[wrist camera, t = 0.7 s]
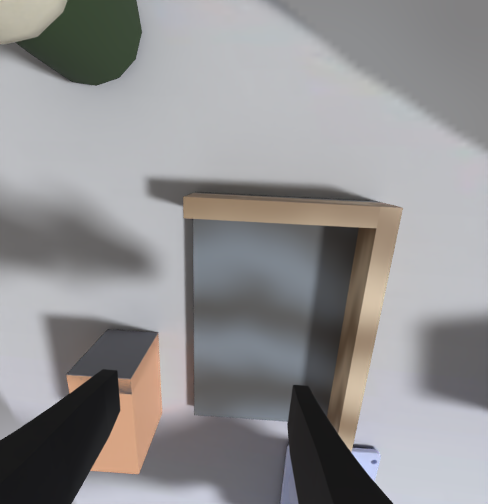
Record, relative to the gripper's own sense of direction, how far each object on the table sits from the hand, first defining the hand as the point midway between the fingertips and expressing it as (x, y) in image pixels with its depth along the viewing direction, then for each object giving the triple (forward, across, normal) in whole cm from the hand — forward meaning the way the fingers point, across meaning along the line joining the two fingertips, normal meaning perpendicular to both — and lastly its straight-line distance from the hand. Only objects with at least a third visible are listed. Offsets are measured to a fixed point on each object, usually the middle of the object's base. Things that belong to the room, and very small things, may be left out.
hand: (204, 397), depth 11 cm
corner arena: (+10, -4, +2) cm, 10 cm away
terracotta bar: (+10, +7, +8) cm, 14 cm away
